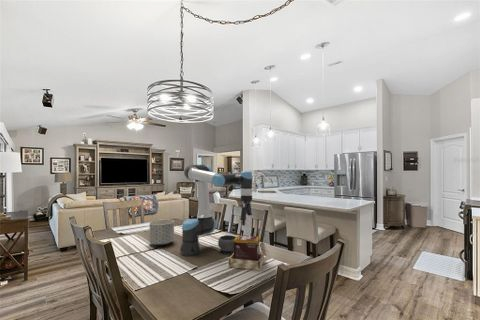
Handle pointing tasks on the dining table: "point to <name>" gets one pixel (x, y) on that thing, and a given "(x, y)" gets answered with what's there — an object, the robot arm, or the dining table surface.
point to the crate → (246, 262)
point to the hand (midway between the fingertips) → (246, 227)
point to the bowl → (226, 243)
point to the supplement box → (246, 248)
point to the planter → (161, 232)
